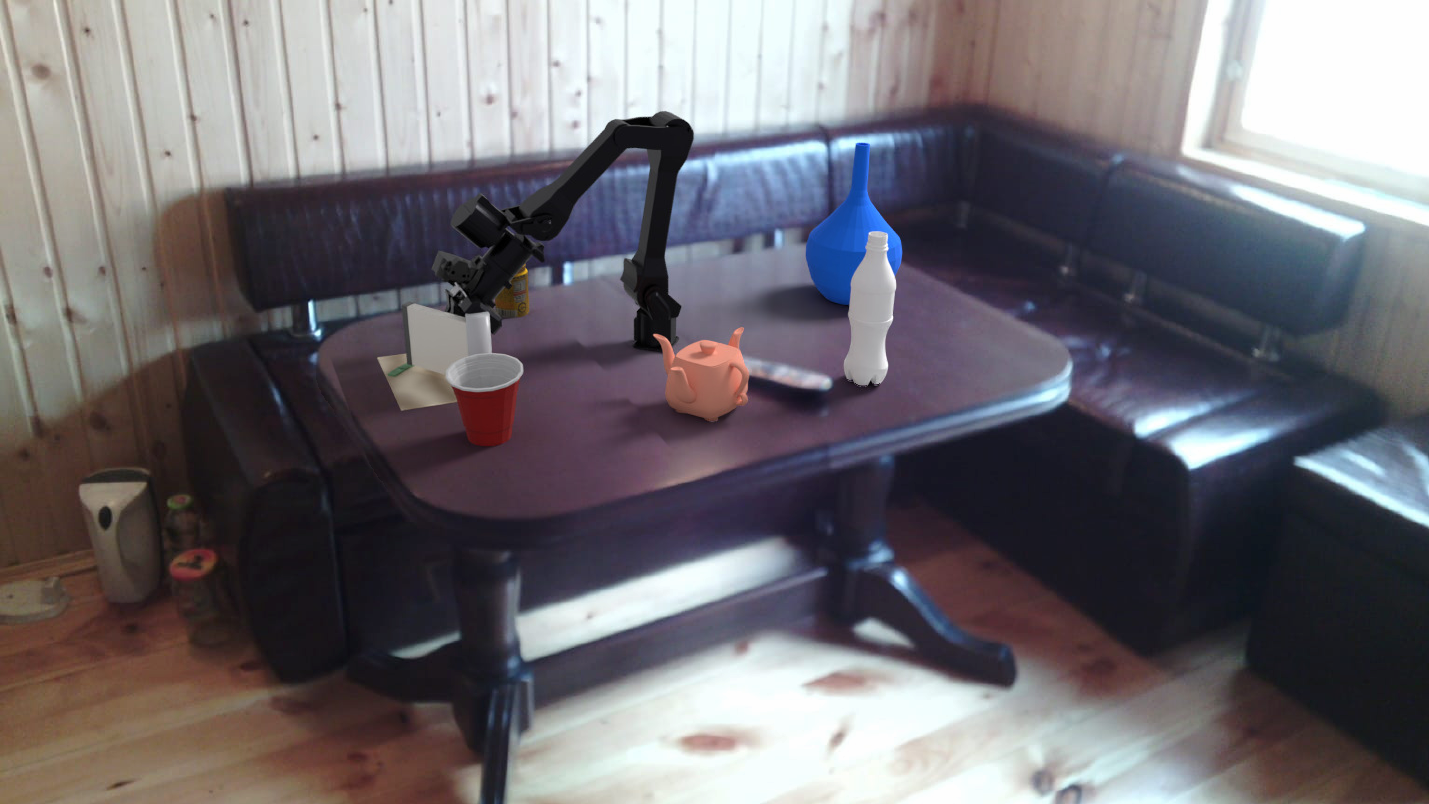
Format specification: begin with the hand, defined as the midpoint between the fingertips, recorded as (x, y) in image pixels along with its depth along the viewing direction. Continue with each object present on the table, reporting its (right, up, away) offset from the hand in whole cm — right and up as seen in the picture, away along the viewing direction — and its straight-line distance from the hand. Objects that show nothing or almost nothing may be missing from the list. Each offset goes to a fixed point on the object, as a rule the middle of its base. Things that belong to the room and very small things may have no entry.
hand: (435, 339), depth 185 cm
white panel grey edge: (+3, -6, -1) cm, 7 cm away
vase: (+71, +10, +41) cm, 82 cm away
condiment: (+8, +5, +26) cm, 27 cm away
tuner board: (+1, -7, +1) cm, 7 cm away
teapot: (+42, -11, -4) cm, 44 cm away
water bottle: (+69, -7, +6) cm, 70 cm away
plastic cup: (+12, -16, -17) cm, 27 cm away
